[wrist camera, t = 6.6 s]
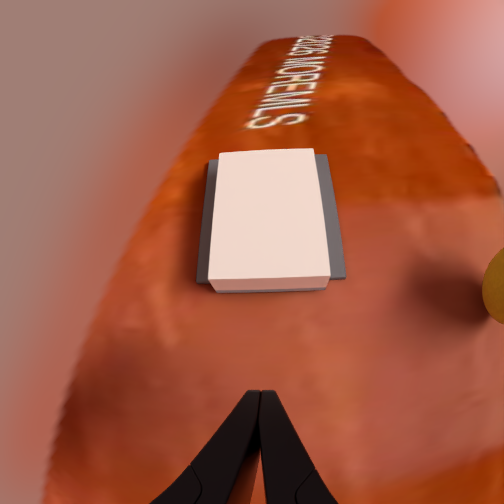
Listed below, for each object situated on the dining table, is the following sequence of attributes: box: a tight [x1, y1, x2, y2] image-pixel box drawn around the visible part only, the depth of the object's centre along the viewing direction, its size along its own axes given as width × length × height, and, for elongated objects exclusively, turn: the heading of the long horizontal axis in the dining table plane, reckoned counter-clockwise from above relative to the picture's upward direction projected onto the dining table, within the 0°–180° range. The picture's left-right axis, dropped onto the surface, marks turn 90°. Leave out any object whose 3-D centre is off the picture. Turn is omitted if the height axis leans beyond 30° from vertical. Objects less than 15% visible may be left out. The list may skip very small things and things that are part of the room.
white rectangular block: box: [208, 149, 331, 293], centre depth 20 cm, size 2×7×10 cm
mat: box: [196, 155, 346, 284], centre depth 22 cm, size 11×10×1 cm
